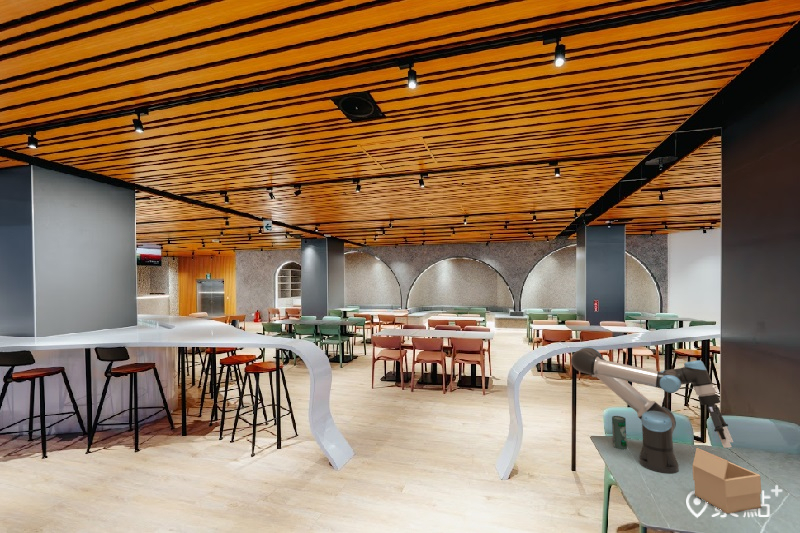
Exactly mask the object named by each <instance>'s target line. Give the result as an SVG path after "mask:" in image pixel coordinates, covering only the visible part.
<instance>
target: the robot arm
mask: <svg viewBox="0 0 800 533" xmlns="http://www.w3.org/2000/svg"><path fill="white" fill-rule="evenodd" d="M571 365H572V367H573V368H574V369H575V370H576V371H578V372H579V373H583V374H587V375H589V376H590V377H592V378H593V377H594V378H597V379H598V380H600V381H601V382H602V383H603V384H604V385H606V387H607V388H608V389H610V390H611V391H612V392H613V393H614V394H615V395H616V396H618V397H619V398H620V399H621V400H622V401H623V402H624V403H626V404H627V405H628V406H629V407H630V408H631V409H632V410H634V411H635V412H636V413H637V418H638V419H639V420H640V421H641V431H642V432H641V434H642V448H641V451H640V454H639V458H638V459H639V464H640V465H641V466H643V467H645V468H646V469H648V470H651V471H654V472H658V473H663V474H674V473H677V472H679V470H680V468H679V465H680V464H679V462H678V460H677V457H676V455H675V452H674V444H673V443H674V442H673V433H674V431H675V429H676V427H677V426H676V425H677V421H676V417H675V415H674V414H673V412H672V411H671V410H670V409H668V408H666V407H664V406H661V405H660V404H659V403H657V402H656V401H655V400H650V399H648V398H647V397H646V396H644V395H643V394H642V393H641V392H640V391H638V389H636V388H635V387H634V386H633V385H632V384H630V383H629V382H631V383H636V384H640V385H645V386H648V387H652V388H653V387H654V388H656V389H661V390H662V391H664V392H665V393H668V394H669V393H670V394H672V393H673V394H674V393H676V392H678V391H680V389H681V387H682V385H685V384H686V385H688V384H689V385H690V384H692V386H693V389H694V391H695V395H697V397H698V401H699V404H701V405H702V406H706V407H707V411H708V413H709V416H710V418H711V421H712V424H713V426H714V429H713V430H714V432H716V433H717V435H718V437H719V440H720V442H721V444H722V447H723V448H725V449H727V448H732V444H731V443H734V440H733V438H732V435H731V434H730V431H729V429H728V427H729V424H728V423H727V422H726V421H725V419H724V418H723V415H722V412H721V410H720V408H719V407H718V405H717V404H720V403H721V399H720V397H719V395H718V394H717V391H716V388H717V387H716V386H715V385H714V384H713V382H712V379H711V376H710V375H709V371H708V370H707V368H706V366H705V364H704V362H703V361H702V360H699V359H698V360H693V361H687V362H684V364H683V365H684V366H683V367H680V368H679V367H678V368H672V369H664V370H661V371H657V370H653V369H649V368H643V367H638V366H633V365H629V364H625V363H621V362H619V363H618V362H615V361H609V360H606V359H605V358H603V356H602V355H601V353H600V351H599V350H597V349H596V348H594V347H591V346H589V347H582V348H580V349H579V350H577V351H575V352H574V353H573V354H572V356H571Z"/></svg>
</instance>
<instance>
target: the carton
mask: <svg viewBox="0 0 800 533" xmlns="http://www.w3.org/2000/svg"><path fill="white" fill-rule="evenodd" d="M691 465H692V479H693V481H694V495H695V496H694V497H696V496H697V497H696V498H698V497H699V498H698V499H700V498H701V499H703V500H705V501H706V502H705V501H704V502H705V503H707V502H708V503H707V504H709V505H710V504H712V505H713V506H712V505H711V506H712V507H714V506H715V508H716V507H717V508H716V509H718V508H719V509H721V510H722V511H721V510H720V511H721V512H723V513H725V514H733V513H739V512H744V511H750V510H751V511H752V510H755V509H757V510H758V509H760V508H762V504H761V494H762V481H761V475H760V474H759V473H757V472H755V471H752V470H749V469H747V468H744V467H742V466H741V465H740V466H739V465H737V464H735V463H733V462H730V461H728V466H727V470H726V475H725V480H723V479H721V478H719V477H717V476H715V475H713V474H711V473H708V472H706V471H704V470H702V469H700V468H698V467H696V466H694V465H693V464H691ZM701 499H700V500H701ZM703 500H702V501H703ZM719 509H718V510H719Z"/></svg>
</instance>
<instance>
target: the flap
mask: <svg viewBox="0 0 800 533" xmlns="http://www.w3.org/2000/svg"><path fill="white" fill-rule="evenodd" d="M728 462H729V460H727V459H725V458H722V457H720V456H718V455H716V454H713V453H710V452H708V451H706V450H704V449H701V448H698V447H696V449H695V454H694V458H693V462H692V465H694V466H696V467H698V468H700V469H702V470H704V471H706V472H708V473H711V474H713V475H715V476H717V477H719V478H721V479H723V480H725V475H726V470H727V466H728Z"/></svg>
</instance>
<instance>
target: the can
mask: <svg viewBox="0 0 800 533" xmlns="http://www.w3.org/2000/svg"><path fill="white" fill-rule="evenodd" d="M626 420H627V419H626V417H624V416H621V415H613V416H611V421H612V422H611V424H612V426H611V427H612V446H613V448H615V449H617V450H622V451H624V449H625V450H627V449H628V443H627V441H628V439H627V426H626V425H627V422H626Z"/></svg>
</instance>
